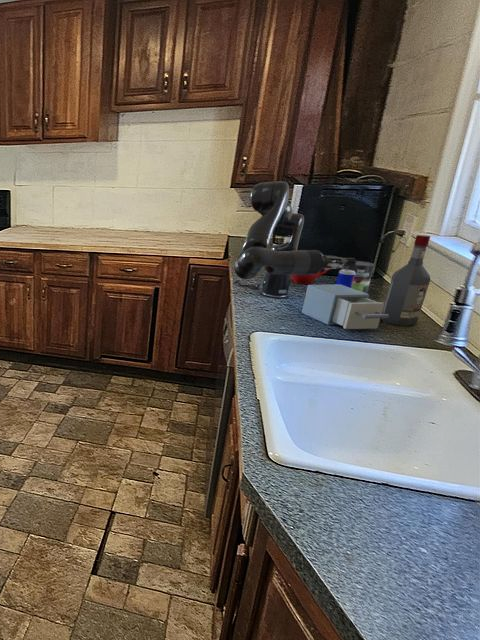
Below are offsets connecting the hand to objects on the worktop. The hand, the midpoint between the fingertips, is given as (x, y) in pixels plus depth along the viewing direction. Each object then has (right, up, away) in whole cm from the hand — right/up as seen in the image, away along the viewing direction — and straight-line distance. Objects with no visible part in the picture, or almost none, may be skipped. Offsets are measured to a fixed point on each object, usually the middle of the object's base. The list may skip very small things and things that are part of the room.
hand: (354, 261), depth 164 cm
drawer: (+10, -19, +16) cm, 27 cm away
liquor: (+31, -17, +23) cm, 42 cm away
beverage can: (+18, -12, +36) cm, 42 cm away
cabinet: (+9, -15, +26) cm, 32 cm away
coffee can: (+36, -4, +55) cm, 65 cm away
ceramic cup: (+30, +5, +78) cm, 83 cm away
